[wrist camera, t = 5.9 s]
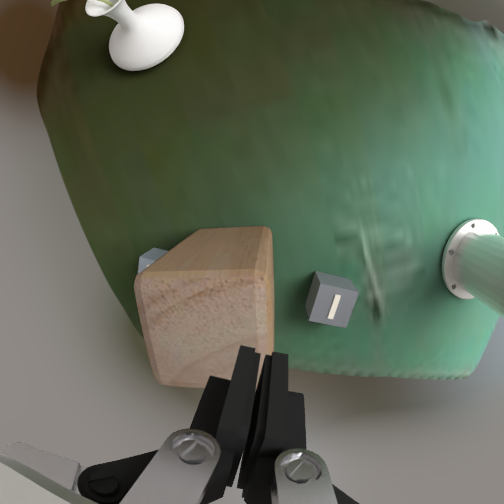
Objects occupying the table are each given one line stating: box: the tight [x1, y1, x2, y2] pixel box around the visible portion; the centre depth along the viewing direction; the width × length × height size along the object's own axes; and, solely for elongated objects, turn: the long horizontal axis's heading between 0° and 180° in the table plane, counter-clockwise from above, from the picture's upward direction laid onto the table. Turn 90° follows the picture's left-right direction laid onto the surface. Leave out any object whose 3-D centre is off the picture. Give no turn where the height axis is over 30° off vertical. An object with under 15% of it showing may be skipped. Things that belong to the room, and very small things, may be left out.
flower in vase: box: [51, 0, 184, 71], centre depth 21 cm, size 13×11×25 cm
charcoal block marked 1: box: [305, 271, 359, 328], centre depth 38 cm, size 5×5×5 cm
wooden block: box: [134, 226, 274, 388], centre depth 31 cm, size 10×10×20 cm
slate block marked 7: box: [138, 248, 168, 274], centre depth 39 cm, size 5×5×5 cm
